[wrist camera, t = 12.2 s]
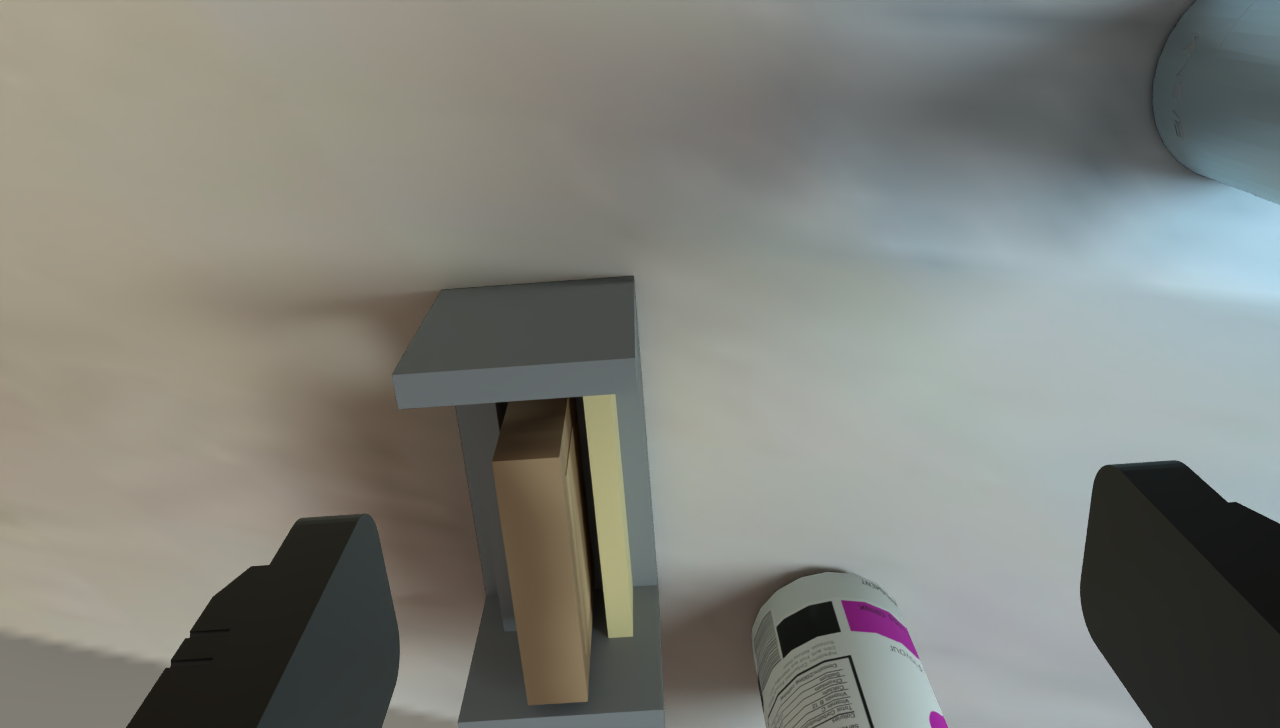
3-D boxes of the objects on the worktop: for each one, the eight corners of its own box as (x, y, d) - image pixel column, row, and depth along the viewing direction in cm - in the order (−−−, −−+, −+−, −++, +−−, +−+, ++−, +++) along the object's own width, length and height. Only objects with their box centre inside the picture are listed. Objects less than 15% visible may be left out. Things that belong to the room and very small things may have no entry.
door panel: (573, 365, 44) (560, 457, 36) (595, 577, 49) (588, 701, 41) (516, 369, 45) (490, 461, 36) (544, 580, 49) (526, 705, 41)
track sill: (633, 276, 44) (634, 358, 35) (658, 595, 51) (665, 734, 42) (441, 289, 44) (391, 375, 35) (492, 606, 51) (462, 747, 42)
